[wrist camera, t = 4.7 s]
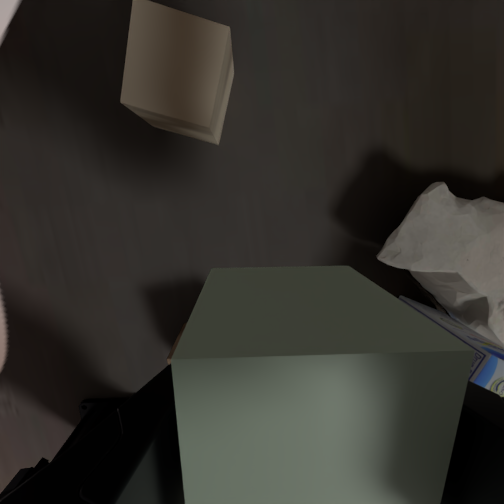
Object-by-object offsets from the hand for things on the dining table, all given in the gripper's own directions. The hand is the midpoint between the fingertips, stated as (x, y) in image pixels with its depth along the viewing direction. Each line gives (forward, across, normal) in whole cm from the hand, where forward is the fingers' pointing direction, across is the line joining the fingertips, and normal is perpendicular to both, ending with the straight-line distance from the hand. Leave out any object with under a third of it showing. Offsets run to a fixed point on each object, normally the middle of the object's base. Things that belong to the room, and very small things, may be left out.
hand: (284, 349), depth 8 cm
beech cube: (+13, +5, -12) cm, 18 cm away
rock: (+13, -20, 0) cm, 24 cm away
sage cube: (+1, 0, 0) cm, 1 cm away
